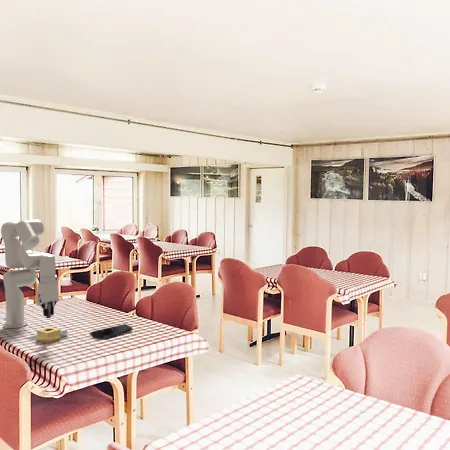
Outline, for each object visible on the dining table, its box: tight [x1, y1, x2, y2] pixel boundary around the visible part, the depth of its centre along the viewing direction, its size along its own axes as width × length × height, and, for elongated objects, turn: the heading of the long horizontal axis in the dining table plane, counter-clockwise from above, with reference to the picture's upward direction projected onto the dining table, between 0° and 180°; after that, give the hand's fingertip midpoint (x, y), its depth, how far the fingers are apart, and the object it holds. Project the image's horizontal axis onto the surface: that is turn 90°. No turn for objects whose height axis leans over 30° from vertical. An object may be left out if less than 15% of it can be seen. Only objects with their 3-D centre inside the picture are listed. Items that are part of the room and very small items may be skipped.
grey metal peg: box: [45, 302, 52, 319], centre depth 245 cm, size 2×2×8 cm
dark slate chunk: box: [89, 323, 133, 340], centre depth 263 cm, size 15×22×5 cm
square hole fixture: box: [26, 326, 72, 345], centre depth 249 cm, size 18×15×6 cm
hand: (48, 315), depth 245 cm, fingers closed on grey metal peg, 2 cm apart
